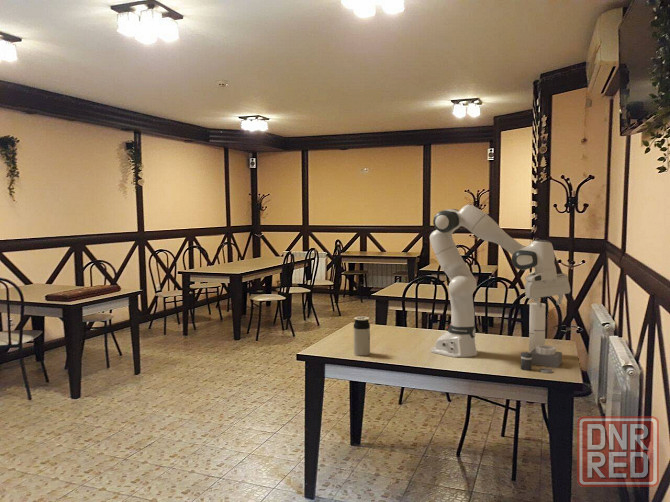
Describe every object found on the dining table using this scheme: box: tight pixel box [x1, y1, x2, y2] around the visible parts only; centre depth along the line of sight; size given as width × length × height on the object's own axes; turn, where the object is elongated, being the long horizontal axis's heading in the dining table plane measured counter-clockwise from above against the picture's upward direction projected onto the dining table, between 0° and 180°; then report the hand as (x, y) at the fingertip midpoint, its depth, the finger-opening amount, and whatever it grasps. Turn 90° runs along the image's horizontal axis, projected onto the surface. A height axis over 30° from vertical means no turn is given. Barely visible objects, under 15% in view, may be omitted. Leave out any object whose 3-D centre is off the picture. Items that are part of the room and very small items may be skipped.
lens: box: [520, 351, 533, 371], centre depth 225 cm, size 4×4×7 cm
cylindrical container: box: [528, 302, 547, 353], centre depth 247 cm, size 7×7×25 cm
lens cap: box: [539, 367, 553, 374], centre depth 221 cm, size 5×5×1 cm
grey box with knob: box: [530, 344, 563, 369], centre depth 233 cm, size 12×9×8 cm
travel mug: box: [353, 316, 371, 357], centre depth 252 cm, size 8×8×18 cm
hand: (549, 306), depth 229 cm, fingers open, 8 cm apart
